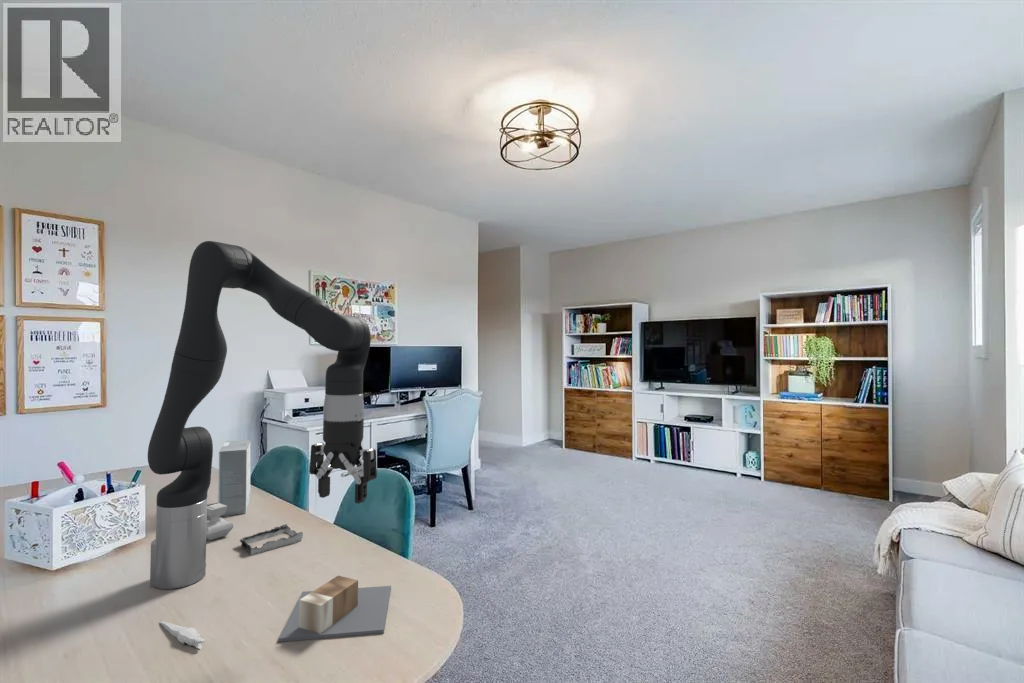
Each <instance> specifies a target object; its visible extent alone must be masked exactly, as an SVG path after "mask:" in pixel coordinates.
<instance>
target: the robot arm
mask: <svg viewBox="0 0 1024 683" xmlns="http://www.w3.org/2000/svg"><path fill="white" fill-rule="evenodd" d="M188 268H189V269H188V274H187V275H188V276H187V286H186V295H185V304H184V309H183V315H182V320H181V325H180V329H179V334H178V337H177V338H178V339H177V341H176V345H175V349H174V354H173V358H172V360H171V361H172V362H171V366H170V372H169V376H168V377H169V378H168V382H167V386H166V391H165V394H164V399H163V402H162V405H161V407H160V410H159V414H158V417H157V420H156V422H155V425H154V428H153V430H152V433H151V437H150V440H149V443H148V448H147V463H148V467H149V469H150V471H152V473H153V474H156V475H168V474H169V475H170V474H174V473H179V472H180V473H179V475H178V476H177V477H176V478H175V479H174V480H173V481H171V482H170V483H169V484H166V485H165V486H164V487H162V488H160V489H159V490H158V492H157V493H156V507H155V508H156V512H155V513H156V514H155V516H156V517H155V518H156V519H155V539H154V540H152V541H151V543H150V561H149V562H150V563H149V564H150V569H149V570H150V571H149V576H150V577H149V587H150V588H158V589H161V590H172V589H180V588H183V587H187V586H190V585H193V584H196V583H198V582H199V581H200V580H202V579H203V578H204V577H205V576H206V570H207V569H206V567H207V561H206V560H207V539H206V530H207V521H208V518H207V517H208V515H207V506H208V491H209V488H210V487H211V486H210V485H211V483H212V482H211V479H212V469H213V468H212V467H213V465H212V464H213V456H214V453H213V452H214V446H213V439H212V436H211V434H210V432H209V431H208V429H206V428H205V427H204V426H191V427H186V425H187V423H188V421H189V419H190V418H189V417H190V416H191V414H193V411H194V410H195V408H197V407H198V405H199V404H200V403H201V402H202V401H203V400H204V399H205V398H206V397H207V396H208V395H209V394H210V393H211V392H212V390H213V389H214V388H215V386H217V384H218V383H219V381H220V379H221V377H222V374H223V370H224V365H225V362H226V358H227V354H228V345H227V341H226V338H225V335H224V334H225V333H224V331H223V329H222V327H221V324H220V321H219V316H218V307H219V302H220V297H221V293H222V289H242V290H245V291H247V292H250V293H253V294H256V295H258V296H260V297H261V298H263V299H264V300H265V301H266V302H267V303H268V305H269V307H271V309H272V310H273V311H274V312H275V313H276V314H277V315H278V316H279V317H281V318H283V319H284V320H286V321H287V322H290V323H291V324H292V325H295V326H297V327H298V328H299V329H301V330H304V331H305V333H307V334H308V335H309V336H310V337H311V338H312V339H313V340H314V341H315V342H316V343H318V344H319V345H320V346H322V347H325V348H326V349H328V350H330V351H334V352H337V355H336V360H335V362H334V363H331V364H330V365H329V366H328V367H327V368H326V371H325V387H324V388H325V389H324V391H325V393H324V401H323V413H322V414H323V417H322V419H323V420H322V421H323V422H322V441H323V442H318V443H315V444H311V447H310V455H309V456H310V458H309V474H310V475H314V476H316V478H317V483H318V484H317V488H318V489H317V492H318V495H319V498H327V497H329V496H330V494H331V476H330V475H331V473H332V472H333V470H338V469H340V470H342V471H347V473H348V474H349V475H351V476H352V477H353V480H354V481H355V484H354V503H355V504H358V505H359V504H361V503H363V502H365V500H366V499H367V496H368V493H367V492H368V482H371V481H374V480H376V479H377V477H378V472H377V467H378V466H377V450H376V448H373V447H372V448H369V449H368V448H366V449H365V448H363V446H362V442H363V439H364V427H365V426H364V424H365V423H364V422H365V421H364V418H365V414H364V413H365V402H364V370H365V367H366V364H367V360H368V356H369V352H370V347H371V341H372V339H371V337H372V335H371V329H370V327H369V325H368V323H367V322H366V321H365V320H364V319H363V318H361V317H358V316H355V315H353V316H352V315H344V314H340V313H339V312H336V311H334V310H332V309H331V308H330V305H329V304H328V303H327V302H325V301H324V300H323V299H321V298H320V297H318V296H316V295H315V294H312V293H310V292H309V291H308V290H305V289H303V288H301V286H297V285H296V284H294V283H292V282H291V281H289V279H286V278H285V277H283V276H281V275H280V274H279V273H277V272H276V271H275V270H274V269H272V268H271V267H269V266H268V265H267V264H266V263H264V262H263V260H261V259H260V258H259V257H257V256H256V255H255V254H254V253H252V252H251V251H250V250H248V249H246V248H245V247H243V246H239V245H236V244H230V243H225V242H219V241H212V240H206V241H203V242H201V243H199V244H198V245H197V246H196V248H195V249H194V251H193V253H192V255H191V259H190V262H189V267H188Z"/></svg>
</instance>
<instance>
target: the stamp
mask: <svg viewBox="0 0 1024 683" xmlns="http://www.w3.org/2000/svg"><path fill="white" fill-rule="evenodd" d="M226 510H227V506H226V505H223V504H220V503H215V504H211V505H207V517H209V520H207V530H206V540H208V541H212V540H215V539H220V538H222V537H225V536H227V535H228V534H229V533H230V532H231V531H232V530H233V529H234V523H233V522H232V521H229V520H227V519H225V518H223V517H222V516H221V515H223V514H225V511H226ZM220 516H221V517H220Z"/></svg>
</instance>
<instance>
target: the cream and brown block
mask: <svg viewBox="0 0 1024 683" xmlns="http://www.w3.org/2000/svg"><path fill="white" fill-rule="evenodd" d="M358 588H359V580H357V579H354V578H350V577H346V576H342V575H337V576H335V577H334V578H332V579H330V580H329V581H327V582H325V583H324V584H322V585H320V586H319V587H318V588H316V589H314V590H312V591H313V592H311V593H310V594H308V595H306V596H305V597H303V598H302V599H300V601H299V627H300V628H303V629H306V630H310V631H313V632H316V633H320V634H321V633H322V632H323V631H325V630H326V629H327V628H329V627H330V626H331V625H333V624H334V623H335V622H337V621H338V620H339V619H341V618H342V617H343V616H345V615H346V614H347V613H348V612H350V611H351V610H352V609H354V608H355V607H356V606H358Z"/></svg>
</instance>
